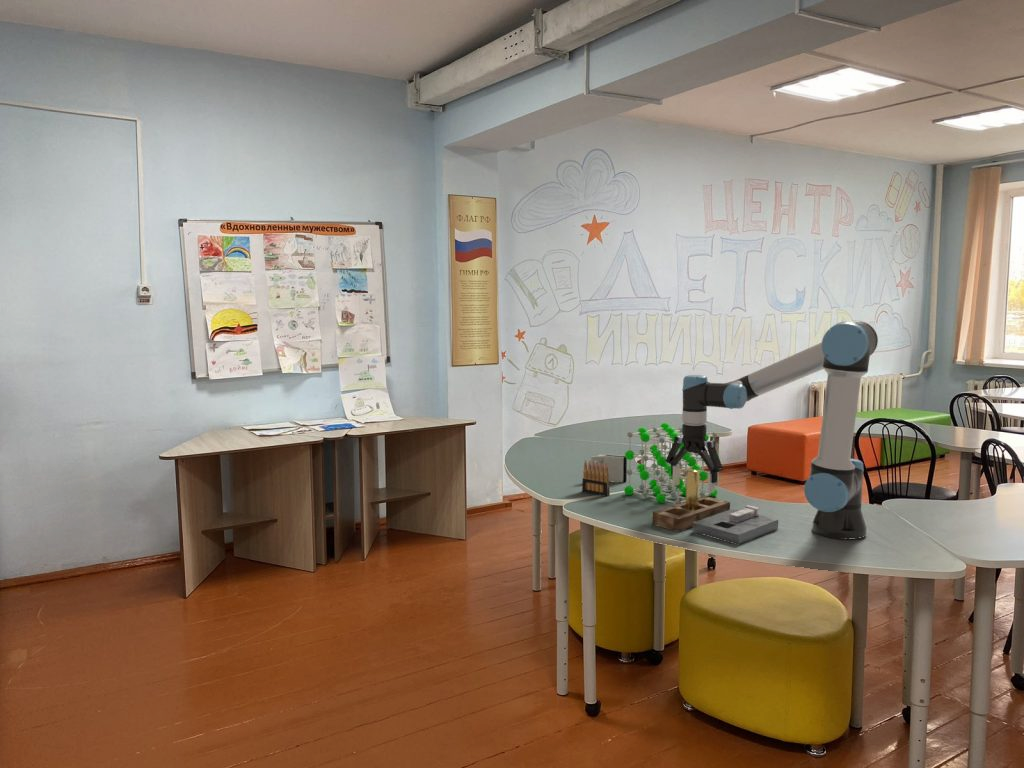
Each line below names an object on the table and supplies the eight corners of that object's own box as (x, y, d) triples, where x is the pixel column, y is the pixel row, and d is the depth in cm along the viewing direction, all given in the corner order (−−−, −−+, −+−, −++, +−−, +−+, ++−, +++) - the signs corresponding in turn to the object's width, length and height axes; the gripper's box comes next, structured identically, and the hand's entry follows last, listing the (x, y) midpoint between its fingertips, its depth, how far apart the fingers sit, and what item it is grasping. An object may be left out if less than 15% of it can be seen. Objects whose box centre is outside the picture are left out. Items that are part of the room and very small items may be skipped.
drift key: (759, 515, 237) (759, 507, 237) (739, 523, 230) (739, 515, 230) (748, 512, 240) (748, 505, 240) (727, 520, 233) (727, 512, 233)
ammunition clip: (581, 492, 278) (582, 460, 277) (584, 490, 280) (584, 459, 278) (607, 496, 272) (607, 464, 271) (609, 495, 273) (610, 463, 272)
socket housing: (777, 529, 234) (778, 519, 234) (738, 544, 219) (738, 534, 219) (732, 517, 246) (732, 508, 245) (692, 531, 231) (692, 522, 231)
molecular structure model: (679, 509, 256) (680, 439, 253) (622, 495, 274) (622, 429, 271) (719, 496, 271) (721, 430, 269) (663, 483, 290) (664, 421, 287)
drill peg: (700, 519, 244) (701, 470, 242) (693, 521, 242) (694, 472, 240) (690, 516, 247) (691, 468, 245) (682, 518, 245) (684, 470, 243)
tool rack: (729, 513, 250) (730, 502, 250) (678, 531, 232) (678, 519, 231) (704, 507, 257) (704, 496, 257) (652, 524, 239) (652, 512, 239)
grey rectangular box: (590, 482, 293) (590, 456, 291) (590, 479, 298) (590, 454, 297) (626, 483, 291) (627, 457, 290) (626, 479, 296) (626, 454, 295)
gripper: (735, 426, 234) (733, 493, 236) (669, 417, 253) (669, 480, 255) (721, 429, 229) (720, 498, 231) (655, 420, 248) (655, 483, 250)
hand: (693, 488), depth 243 cm, fingers open, 13 cm apart
